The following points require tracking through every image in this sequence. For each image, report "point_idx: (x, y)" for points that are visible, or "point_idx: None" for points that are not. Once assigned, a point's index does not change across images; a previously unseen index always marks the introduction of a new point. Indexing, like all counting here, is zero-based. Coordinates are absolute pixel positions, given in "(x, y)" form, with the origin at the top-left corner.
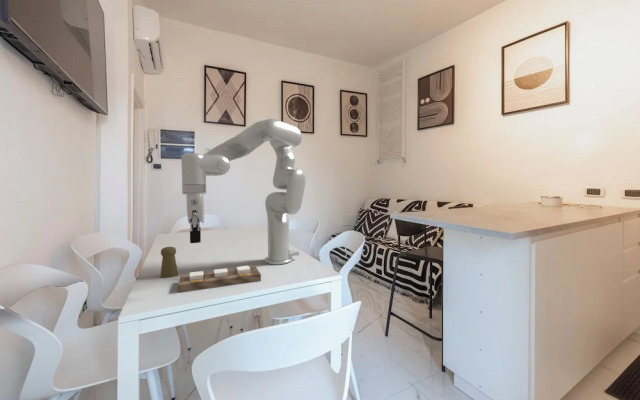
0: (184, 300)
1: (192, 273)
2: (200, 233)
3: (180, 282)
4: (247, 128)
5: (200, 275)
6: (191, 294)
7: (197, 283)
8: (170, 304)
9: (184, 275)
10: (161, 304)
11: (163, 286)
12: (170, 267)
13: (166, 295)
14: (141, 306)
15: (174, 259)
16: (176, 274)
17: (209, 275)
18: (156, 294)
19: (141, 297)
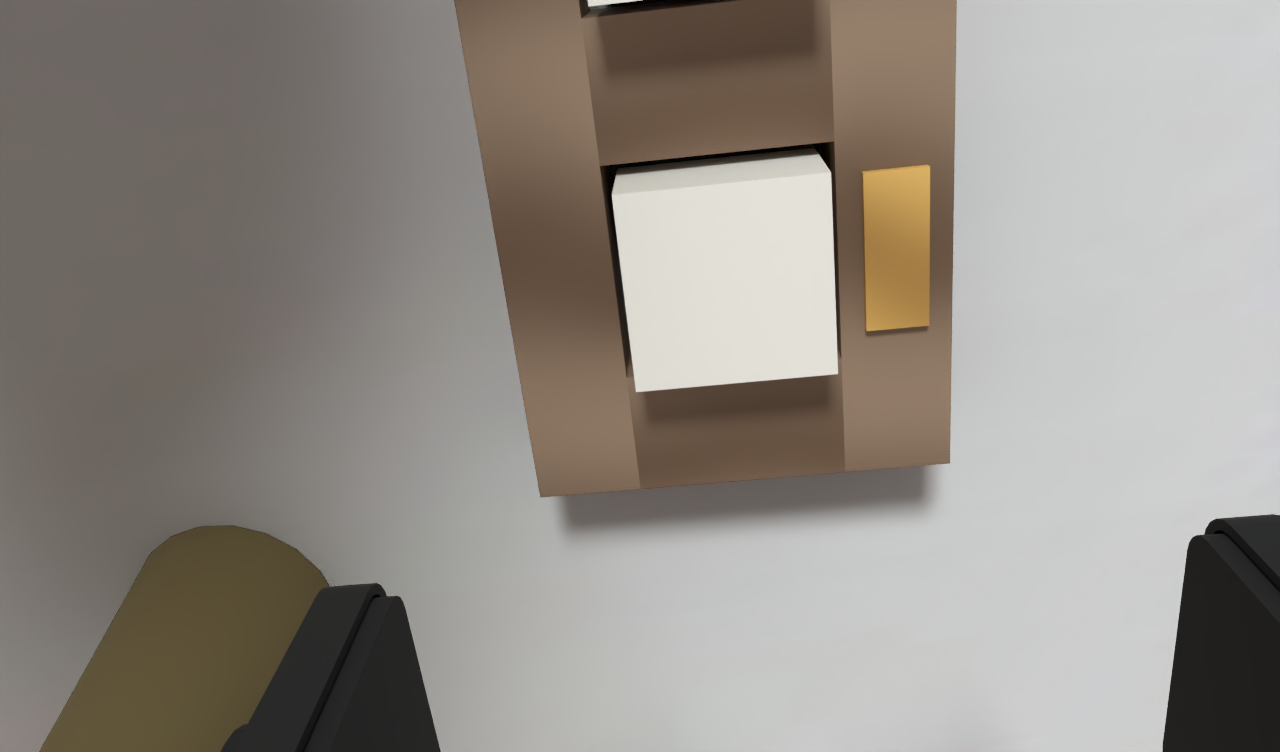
0: (1221, 314)
1: (701, 350)
2: (330, 681)
3: (856, 451)
4: None
5: (832, 218)
6: (1060, 260)
7: (948, 227)
8: (1258, 438)
9: (560, 445)
10: (1206, 521)
11: (649, 599)
12: (268, 670)
13: (961, 521)
14: (1158, 672)
15: (147, 704)
16: (259, 541)
17: (672, 77)
18: (884, 616)
19: (911, 721)
